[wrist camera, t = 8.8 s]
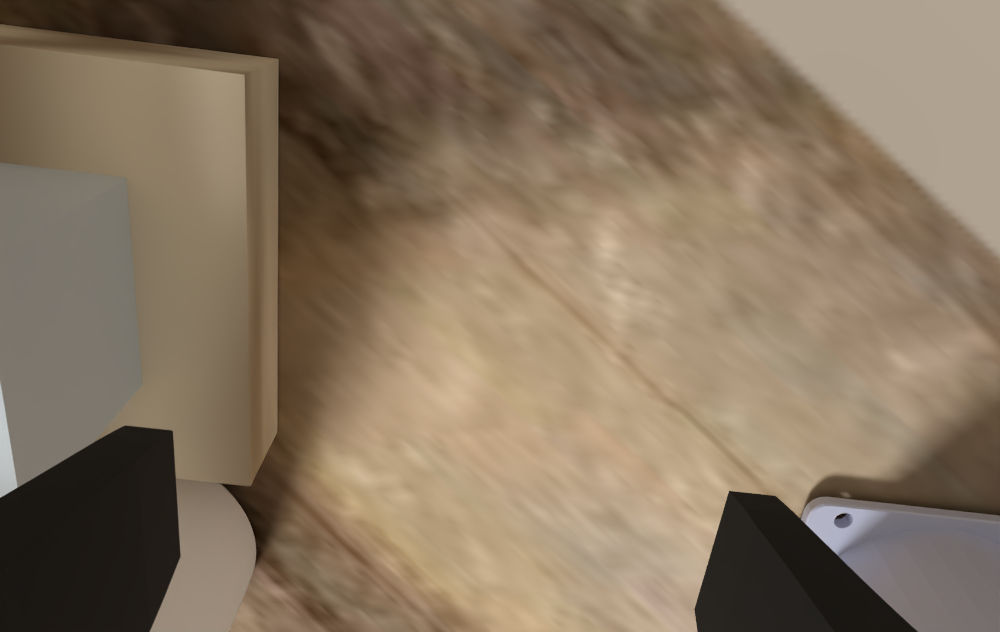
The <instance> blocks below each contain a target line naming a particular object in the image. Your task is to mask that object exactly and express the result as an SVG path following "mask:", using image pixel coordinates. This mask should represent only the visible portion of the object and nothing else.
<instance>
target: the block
mask: <svg viewBox="0 0 1000 632" xmlns="http://www.w3.org/2000/svg"><path fill="white" fill-rule="evenodd" d="M141 386H142V373H141V360H140V347H139V334H138V321H137V309H136V296H135V283H134V270H133V257H132V244H131V231H130V218H129V205H128V192H127V180H126V177H117V176H109V175H101V174H92V173H84V172H76V171H67V170H59V169H51V168H42V167H34V166H26V165H17V164H9V163H1V162H0V498H1V497H2V496H4V495H6V494H7V493H9V492H11V491H13V490H14V489H16V488H18V487H19V486H21V485H23V484H24V483H26V482H28V481H30V480H31V479H33V478H35V477H36V476H38V475H40V474H42V473H43V472H45V471H47V470H48V469H50V468H52V467H53V466H55V465H57V464H58V463H60V462H62V461H63V460H65V459H67V458H68V457H70V456H72V455H73V454H75V453H77V452H78V451H80V450H82V449H83V448H85V447H87V446H88V445H90V444H92V443H93V442H94V441H95V440H96V439H97V437H98V436H99V435H100V434H101V433H102V432H103V430H104V429H105V428H106V427H107V426H108V425H109V423H110V422H111V421H112V420H113V419H114V418H115V416H116V415H117V414H118V413H119V412H120V411H121V409H122V408H123V407H124V406H125V405H126V403H127V402H128V401H129V400H130V399H131V398H132V396H133V395H134V394H135V393H136V392H137V391H138V389H139V388H140V387H141Z"/></svg>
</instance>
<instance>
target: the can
mask: <svg viewBox="0 0 1000 632" xmlns="http://www.w3.org/2000/svg"><path fill="white" fill-rule="evenodd" d="M176 489H177V505H178V521H179V538H180V554H181V557H180V559H179V562H178V564H177V567H176V569H175V572H174V574H173V577H172V579H171V582H170V584H169V587H168V590H167V592H166V595H165V597H164V599H163V602H162V604H161V607H160V609H159V611H158V614H157V616H156V618H155V621H154V623H153V625H152V628H151V630H150V632H230V629H231V627H232V624H233V622H234V620H235V617H236V615H237V612H238V610H239V607H240V605H241V602H242V600H243V597H244V595H245V592H246V590H247V587H248V585H249V582H250V579H251V577H252V574H253V570H254V566H255V561H256V543H255V537H254V533H253V530H252V527H251V524H250V522H249V520H248V518H247V516H246V514H245V512H244V511H243V509H242V507H241V506H240V505H239V503H238V502H237V501H236V499H235V498H234V497H233V495H232V494H231V493H230V492H229V491H228V490H227V488H226V487H225V486H224V485H222V484H221V483H213V482H203V481H194V480H185V479H176Z"/></svg>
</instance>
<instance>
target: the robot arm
mask: <svg viewBox="0 0 1000 632" xmlns="http://www.w3.org/2000/svg"><path fill="white" fill-rule="evenodd" d="M842 513H847V514H846V515H845V517H843V518H841V519H835V518H836V516H838V515H840V514H842ZM180 557H181V554H180V538H179V521H178V505H177V489H176V473H175V457H174V441H173V431H172V430H163V429H154V428H145V427H136V426H126V425H125V426H123V427H121V428H119V429H117V430H115V431H113V432H111V433H109V434H108V435H106V436H104V437H102V438H100V439H99V440H97V441H95V442H94V443H92V444H90V445H88V446H87V447H85V448H83V449H82V450H80V451H78V452H77V453H75V454H73V455H72V456H70V457H68V458H67V459H65V460H63V461H62V462H60V463H58V464H57V465H55V466H53V467H52V468H50V469H48V470H47V471H45V472H43V473H42V474H40V475H38V476H36V477H35V478H33V479H31V480H30V481H28V482H26V483H24V484H23V485H21V486H19V487H18V488H16V489H14V490H13V491H11V492H9V493H7V494H6V495H4V496H2V497H1V498H0V632H150V630H151V628H152V625H153V623H154V621H155V618H156V616H157V614H158V611H159V609H160V607H161V604H162V602H163V599H164V597H165V595H166V592H167V590H168V587H169V584H170V582H171V579H172V577H173V574H174V572H175V569H176V567H177V564H178V562H179V559H180ZM695 616H696V623H697V630H698V632H1000V515H990V514H981V513H972V512H963V511H954V510H944V509H935V508H926V507H917V506H908V505H899V504H889V503H880V502H871V501H862V500H853V499H844V498H834V497H819V498H816V499H813V500H812V501H811V502H809V503H808V504H807V506H806V507H805V509H804V512H803V515H802V518H801V519H800V518H799V517H798V516H797V515H796V514H795V513H794V512H793V511H791V510H790V509H789V508H788V507H787V506H786V505H785V504H784V503H783V502H782V501H780V500H779V499H778V498H777V497H776V496H770V495H761V494H752V493H742V492H733V491H729V494H728V497H727V500H726V504H725V507H724V511H723V514H722V518H721V521H720V524H719V528H718V531H717V535H716V538H715V541H714V545H713V548H712V552H711V555H710V559H709V562H708V565H707V569H706V572H705V576H704V579H703V582H702V586H701V589H700V593H699V596H698V599H697V603H696V606H695Z"/></svg>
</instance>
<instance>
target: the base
mask: <svg viewBox="0 0 1000 632" xmlns="http://www.w3.org/2000/svg"><path fill="white" fill-rule="evenodd" d="M278 81H279V59H275V58H267V57H259V56H251V55H243V54H235V53H227V52H219V51H211V50H203V49H195V48H187V47H179V46H171V45H163V44H155V43H147V42H139V41H131V40H123V39H115V38H107V37H99V36H91V35H83V34H75V33H67V32H59V31H51V30H43V29H35V28H27V27H19V26H11V25H3V24H0V162H1V163H9V164H17V165H26V166H34V167H42V168H51V169H59V170H67V171H76V172H84V173H92V174H101V175H109V176H117V177H126V180H127V192H128V205H129V218H130V231H131V244H132V257H133V270H134V283H135V296H136V309H137V321H138V334H139V347H140V360H141V373H142V386H141V387H140V388H139V389H138V391H137V392H136V393H135V394H134V395H133V396H132V398H131V399H130V400H129V401H128V402H127V403H126V405H125V406H124V407H123V408H122V409H121V411H120V412H119V413H118V414H117V415H116V416H115V418H114V419H113V420H112V421H111V422H110V423H109V425H108V426H107V427H106V428H105V429H104V430H103V432H102V433H101V434H100V435H99V436H98V437H97V439H96V440H95V441H97V440H99V439H100V438H102V437H104V436H106V435H108V434H109V433H111V432H113V431H115V430H117V429H119V428H121V427H123V426H125V425H126V426H136V427H145V428H154V429H163V430H172V431H173V441H174V457H175V473H176V479H185V480H194V481H203V482H213V483H222V484H232V485H241V486H251V484H252V482H253V480H254V478H255V476H256V474H257V472H258V470H259V468H260V466H261V464H262V462H263V460H264V458H265V456H266V454H267V452H268V450H269V448H270V446H271V444H272V442H273V440H274V438H275V436H276V434H277V432H278ZM95 441H94V442H95ZM94 442H93V443H94Z"/></svg>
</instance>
